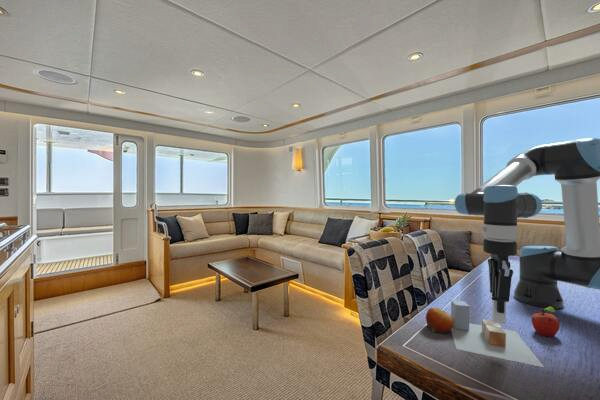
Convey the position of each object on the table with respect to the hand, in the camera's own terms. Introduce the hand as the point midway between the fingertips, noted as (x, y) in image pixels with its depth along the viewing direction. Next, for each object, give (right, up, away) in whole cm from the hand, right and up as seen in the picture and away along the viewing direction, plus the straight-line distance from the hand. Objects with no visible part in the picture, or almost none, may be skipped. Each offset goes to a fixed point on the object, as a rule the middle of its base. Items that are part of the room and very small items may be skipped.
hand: (498, 322), depth 72 cm
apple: (+21, -8, +7) cm, 23 cm away
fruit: (-11, -8, +10) cm, 17 cm away
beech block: (0, -5, +1) cm, 5 cm away
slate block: (-4, -7, +11) cm, 14 cm away
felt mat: (0, -8, +4) cm, 9 cm away
